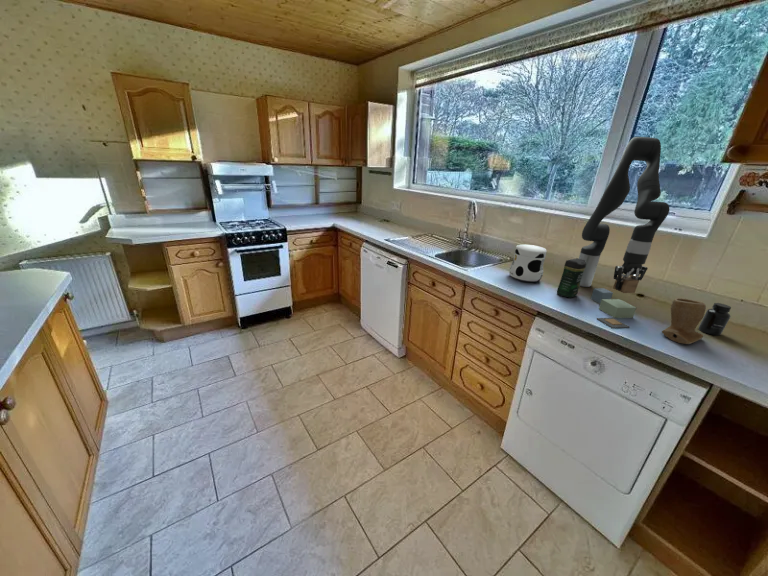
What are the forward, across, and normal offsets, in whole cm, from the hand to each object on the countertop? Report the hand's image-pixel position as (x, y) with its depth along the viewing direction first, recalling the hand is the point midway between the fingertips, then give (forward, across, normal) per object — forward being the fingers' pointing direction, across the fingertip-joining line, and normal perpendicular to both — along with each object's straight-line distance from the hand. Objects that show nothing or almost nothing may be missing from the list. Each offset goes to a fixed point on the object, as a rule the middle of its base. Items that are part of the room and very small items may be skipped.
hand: (623, 289), depth 137 cm
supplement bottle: (+12, -26, +19) cm, 34 cm away
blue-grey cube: (+11, -4, -13) cm, 18 cm away
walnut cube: (+1, 0, 0) cm, 1 cm away
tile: (+12, +10, +9) cm, 18 cm away
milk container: (+11, +17, -44) cm, 49 cm away
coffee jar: (+12, +8, -21) cm, 25 cm away
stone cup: (+12, -8, +21) cm, 25 cm away
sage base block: (+12, 0, 0) cm, 12 cm away
